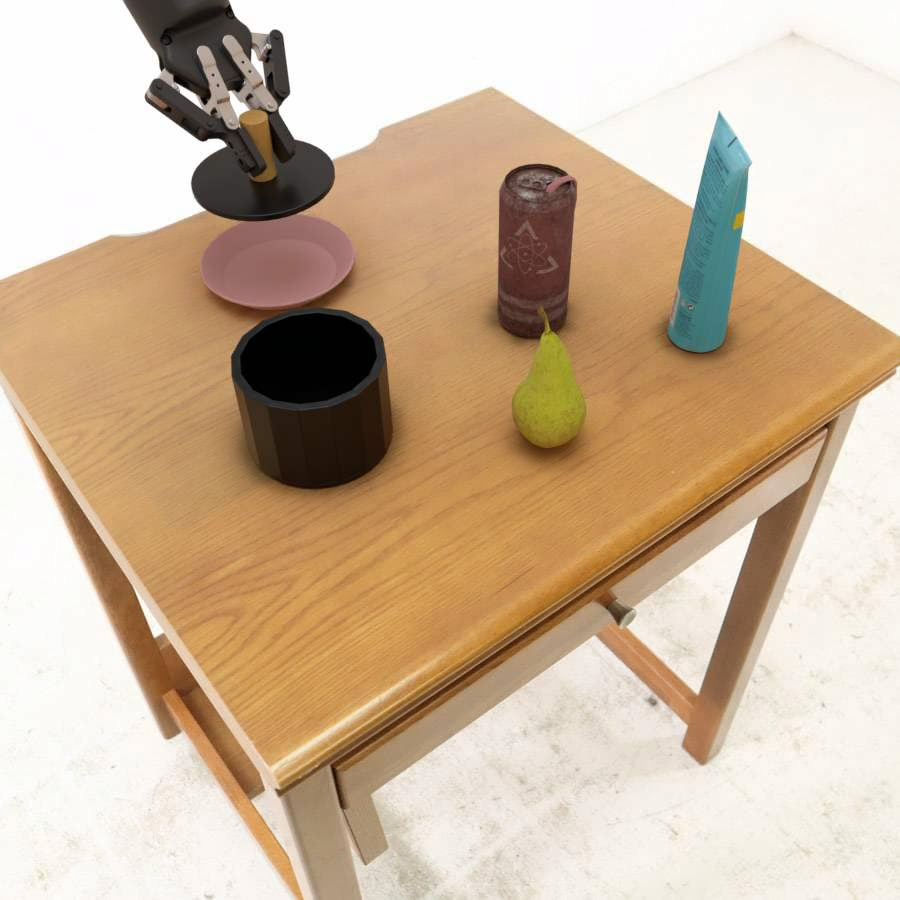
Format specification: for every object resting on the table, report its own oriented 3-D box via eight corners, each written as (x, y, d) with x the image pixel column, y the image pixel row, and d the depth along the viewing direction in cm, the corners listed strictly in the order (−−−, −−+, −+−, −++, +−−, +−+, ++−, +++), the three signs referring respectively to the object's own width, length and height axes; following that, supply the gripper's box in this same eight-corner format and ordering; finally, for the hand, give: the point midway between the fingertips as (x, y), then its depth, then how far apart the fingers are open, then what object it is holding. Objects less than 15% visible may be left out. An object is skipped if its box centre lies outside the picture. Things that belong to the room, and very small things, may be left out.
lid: (269, 245, 87) (256, 173, 82) (163, 197, 92) (145, 127, 87) (364, 175, 94) (358, 105, 89) (261, 135, 99) (249, 67, 94)
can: (580, 328, 93) (592, 190, 83) (514, 347, 92) (518, 208, 82) (551, 289, 97) (559, 152, 87) (487, 306, 96) (487, 169, 86)
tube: (738, 357, 90) (784, 156, 76) (684, 367, 90) (721, 166, 76) (704, 304, 95) (742, 106, 81) (653, 313, 95) (682, 115, 81)
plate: (177, 267, 101) (172, 249, 99) (306, 213, 107) (303, 196, 105) (251, 344, 93) (247, 327, 91) (386, 282, 99) (384, 264, 97)
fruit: (567, 474, 81) (577, 356, 73) (498, 450, 83) (500, 333, 75) (594, 426, 85) (607, 308, 76) (528, 404, 87) (533, 287, 78)
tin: (329, 511, 79) (316, 432, 73) (219, 449, 84) (198, 369, 78) (420, 422, 86) (415, 342, 80) (313, 369, 90) (301, 289, 84)
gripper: (96, -19, 80) (220, 183, 83) (245, -72, 87) (355, 117, 90) (79, 27, 87) (195, 214, 90) (218, -25, 93) (322, 150, 96)
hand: (274, 164), depth 90 cm, fingers closed on lid, 2 cm apart
